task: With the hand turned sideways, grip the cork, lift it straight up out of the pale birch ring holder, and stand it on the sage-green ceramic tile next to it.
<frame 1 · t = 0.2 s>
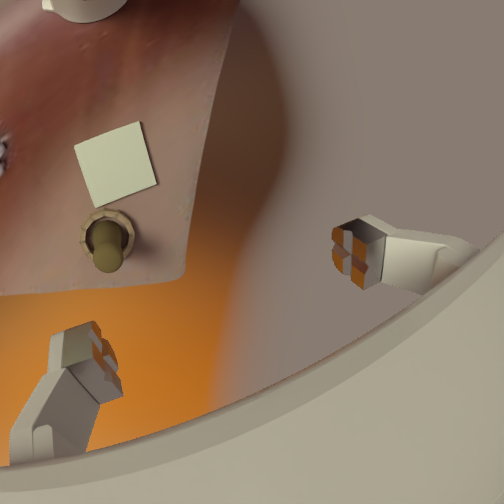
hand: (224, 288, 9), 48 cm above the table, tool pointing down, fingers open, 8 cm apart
ceramic tile: (115, 164, 48), on the table
ring holder: (107, 235, 53), on the table
cork: (107, 235, 53), resting in ring holder
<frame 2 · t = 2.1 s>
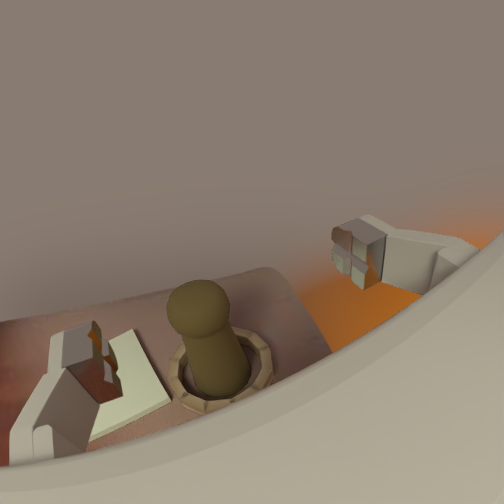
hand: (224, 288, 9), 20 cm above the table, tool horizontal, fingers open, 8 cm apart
ceramic tile: (106, 386, 29), on the table
ring holder: (221, 372, 30), on the table
cork: (222, 374, 30), resting in ring holder
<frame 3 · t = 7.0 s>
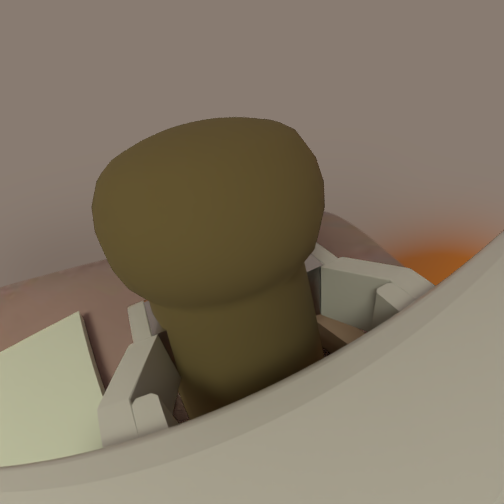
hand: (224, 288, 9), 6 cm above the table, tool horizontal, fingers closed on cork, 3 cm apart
ceramic tile: (21, 419, 11), on the table
ring holder: (260, 406, 12), on the table
cork: (261, 408, 12), resting in ring holder, touching gripper
when the fingers open (8 cm above the table, at t = 12.8 s): cork moves 2 cm, resting on ceramic tile.
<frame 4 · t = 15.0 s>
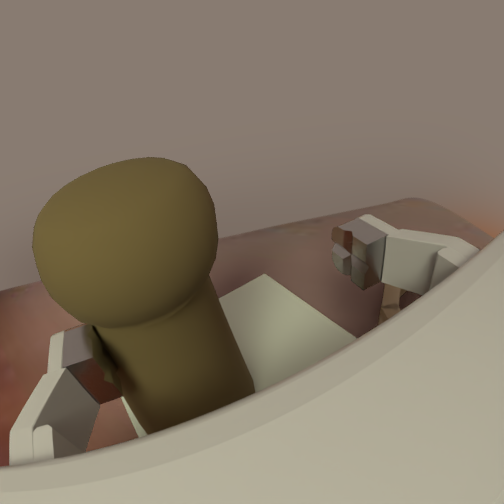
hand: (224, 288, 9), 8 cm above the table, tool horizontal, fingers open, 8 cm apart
ceramic tile: (242, 384, 15), on the table
ring holder: (456, 319, 16), on the table
cork: (193, 398, 14), point 1 cm above the table, touching ceramic tile, gripper
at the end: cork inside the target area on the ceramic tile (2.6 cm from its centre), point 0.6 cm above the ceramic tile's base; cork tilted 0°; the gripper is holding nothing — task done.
